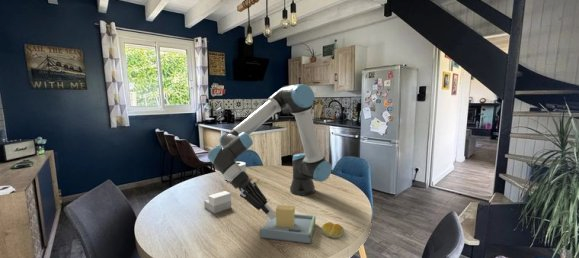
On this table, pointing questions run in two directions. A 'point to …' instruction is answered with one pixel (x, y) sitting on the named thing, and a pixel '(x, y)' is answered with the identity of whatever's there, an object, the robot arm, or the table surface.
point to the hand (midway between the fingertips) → (274, 217)
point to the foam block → (218, 202)
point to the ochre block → (285, 216)
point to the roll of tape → (242, 165)
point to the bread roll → (332, 230)
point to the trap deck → (290, 230)
